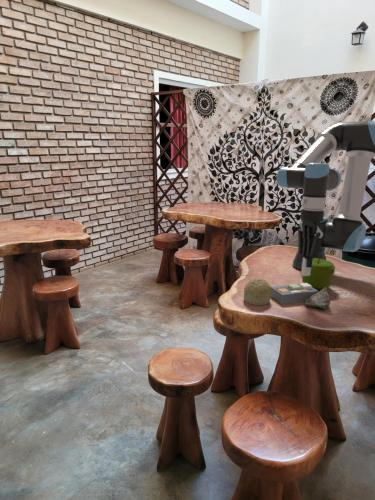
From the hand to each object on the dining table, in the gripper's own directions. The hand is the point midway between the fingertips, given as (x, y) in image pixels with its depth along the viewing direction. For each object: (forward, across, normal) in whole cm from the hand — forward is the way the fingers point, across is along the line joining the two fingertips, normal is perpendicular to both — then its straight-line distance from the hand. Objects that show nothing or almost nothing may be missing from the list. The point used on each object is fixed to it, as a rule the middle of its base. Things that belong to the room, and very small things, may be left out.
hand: (305, 275), depth 129 cm
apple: (+8, -8, +11) cm, 16 cm away
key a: (+6, 0, 0) cm, 6 cm away
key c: (+7, 0, -8) cm, 11 cm away
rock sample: (+9, +9, 0) cm, 12 cm away
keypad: (+8, 0, -4) cm, 9 cm away
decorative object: (+9, -1, -18) cm, 20 cm away
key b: (+6, 0, -4) cm, 7 cm away
